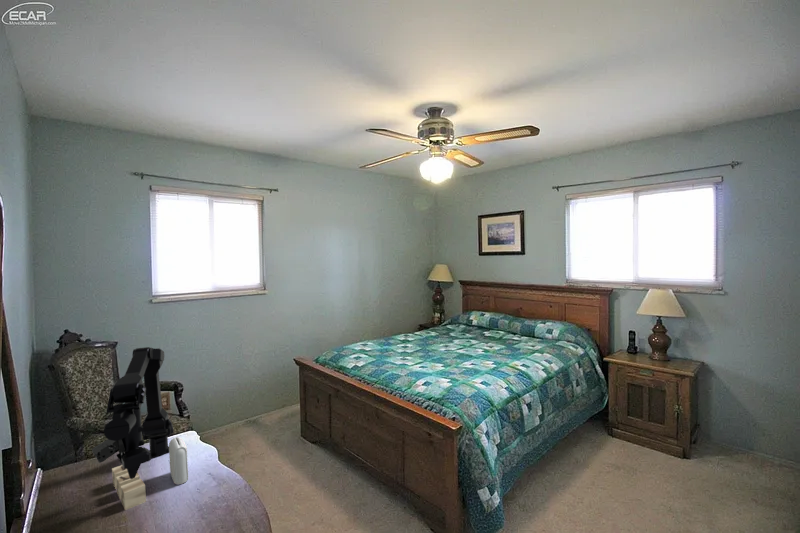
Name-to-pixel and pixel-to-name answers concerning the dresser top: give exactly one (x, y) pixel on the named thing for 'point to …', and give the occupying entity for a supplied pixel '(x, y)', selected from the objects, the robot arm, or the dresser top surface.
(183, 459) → the white rounded slab
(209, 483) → the dresser top surface
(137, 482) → the plain block
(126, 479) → the block seven
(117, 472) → the block one
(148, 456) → the robot arm
